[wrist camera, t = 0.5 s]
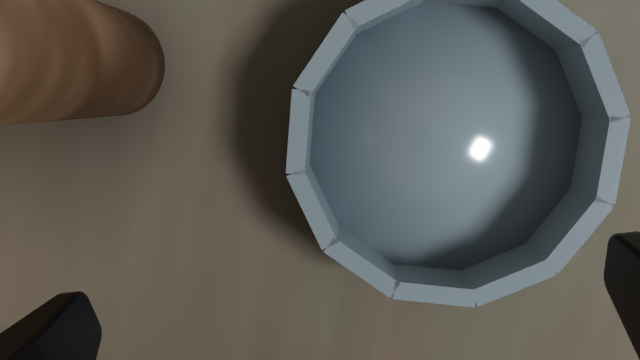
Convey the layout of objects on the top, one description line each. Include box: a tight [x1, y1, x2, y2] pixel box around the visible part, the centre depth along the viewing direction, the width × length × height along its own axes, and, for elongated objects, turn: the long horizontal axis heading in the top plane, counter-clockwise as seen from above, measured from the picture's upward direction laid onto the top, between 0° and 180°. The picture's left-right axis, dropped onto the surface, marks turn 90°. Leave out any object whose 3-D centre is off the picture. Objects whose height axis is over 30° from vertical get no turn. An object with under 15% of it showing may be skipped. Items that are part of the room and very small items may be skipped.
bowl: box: [286, 0, 631, 307], centre depth 20 cm, size 12×12×3 cm
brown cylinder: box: [0, 0, 165, 125], centre depth 16 cm, size 4×4×12 cm
